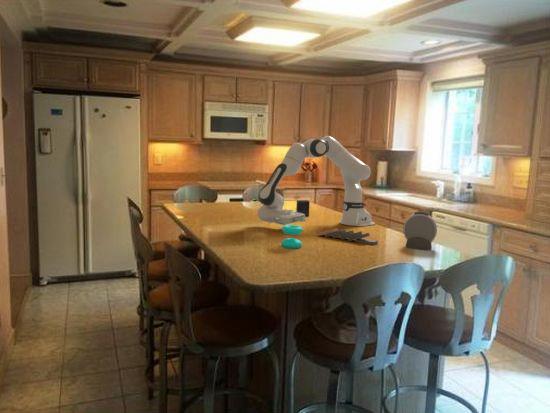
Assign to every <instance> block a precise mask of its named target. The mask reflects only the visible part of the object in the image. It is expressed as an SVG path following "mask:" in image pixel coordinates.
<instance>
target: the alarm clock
mask: <svg viewBox="0 0 550 413" xmlns="http://www.w3.org/2000/svg"><path fill="white" fill-rule="evenodd" d="M402 230H403V231H402V232H403V235H404V238H405V239H406V243H405V247H404V248H406V249H412V250H419V251H432V247H433V246H432V242H433V241H434V240H435V239H436V237H437V233H438V225H437V222H436V220H435V219H434V218H433V217H432V216H431V215H429V213H428V212H425V211H420V210H419V211H415V212H414V213H413V214H411V215H410V216H409V217H408V218H407V219H406V220H405V222H404V223H403V227H402Z"/></svg>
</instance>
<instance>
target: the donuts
mask: <svg viewBox="0 0 550 413" xmlns="http://www.w3.org/2000/svg"><path fill="white" fill-rule="evenodd" d="M303 230H304V229H303V228H302V226H300V225H296V224H286V225H282V227H281V231H282V232H283V233H284V234H286V235H291V236H292V235H293V236H294V235H300V234H302V233H303ZM280 244H281V247H283V248H285V249H293V250H294V249H299V248H301V247H302V246H303V243H302V241H301V240H299V239H298V238H291V237H287V238H284V239H283V240H281V242H280Z"/></svg>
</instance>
